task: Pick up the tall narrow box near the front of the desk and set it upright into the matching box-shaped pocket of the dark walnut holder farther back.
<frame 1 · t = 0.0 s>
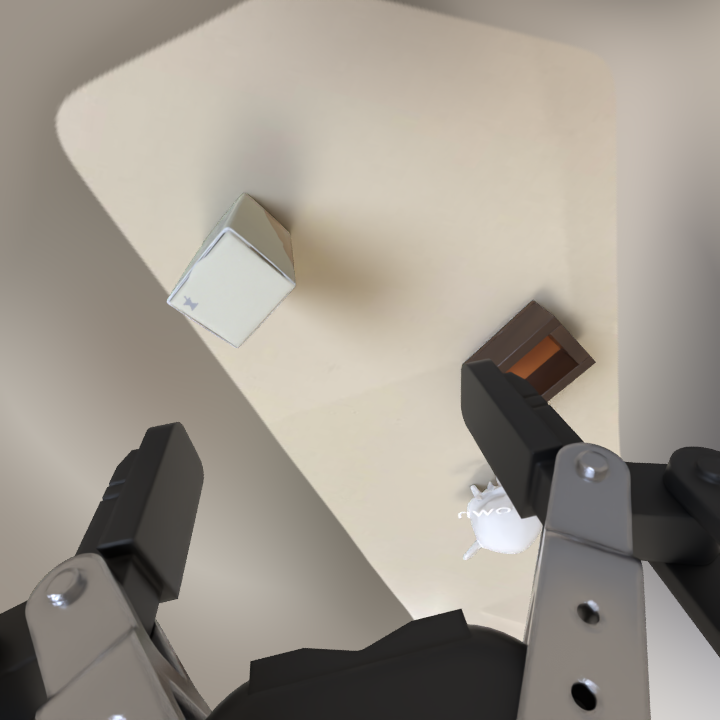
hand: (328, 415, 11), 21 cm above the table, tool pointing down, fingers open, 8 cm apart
holder: (518, 354, 38), on the table
box: (247, 236, 29), on the table
figurine: (486, 485, 49), on the table
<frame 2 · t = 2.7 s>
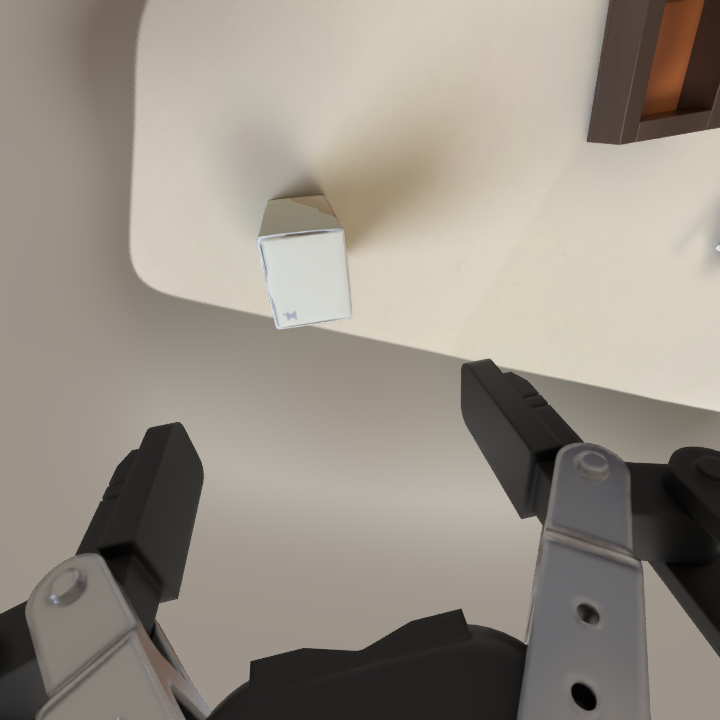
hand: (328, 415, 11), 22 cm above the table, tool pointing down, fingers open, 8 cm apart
holder: (649, 63, 27), on the table
box: (300, 230, 30), on the table
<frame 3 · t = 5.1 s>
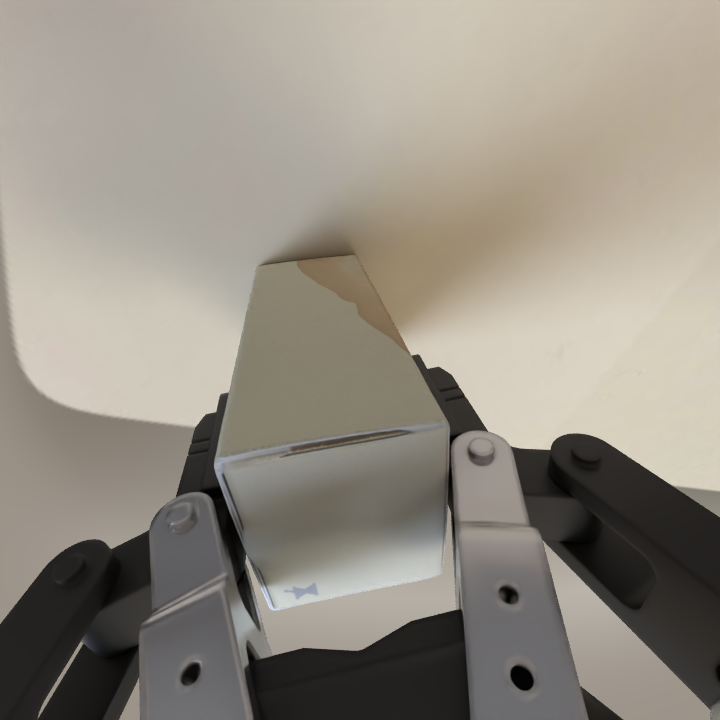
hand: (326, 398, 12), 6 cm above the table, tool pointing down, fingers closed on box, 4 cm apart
box: (313, 309, 17), on the table, touching gripper
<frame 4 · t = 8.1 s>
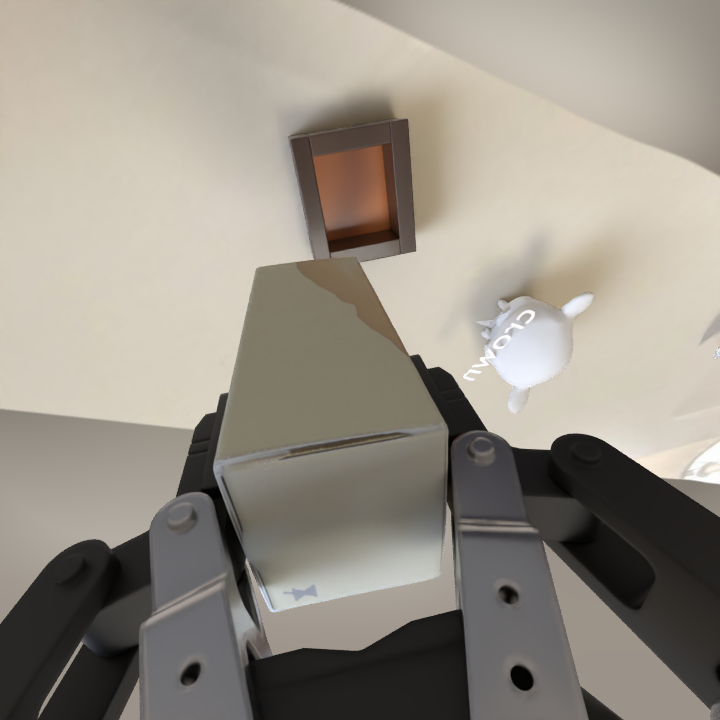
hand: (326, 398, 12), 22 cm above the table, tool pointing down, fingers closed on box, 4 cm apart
holder: (351, 192, 30), on the table
box: (312, 311, 17), point 16 cm above the table, touching gripper
figurine: (502, 319, 39), on the table
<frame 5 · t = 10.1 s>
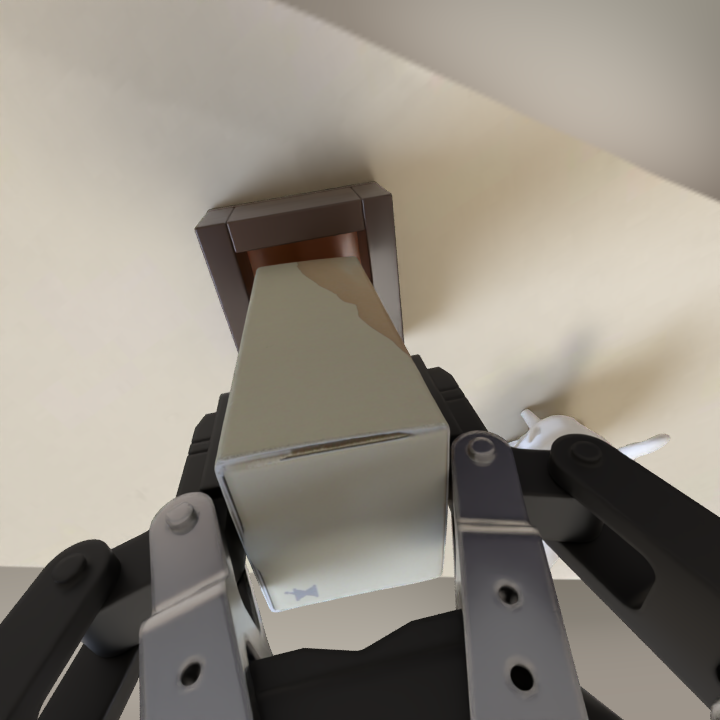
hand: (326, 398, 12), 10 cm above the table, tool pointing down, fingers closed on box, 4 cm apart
holder: (311, 284, 20), on the table
box: (313, 310, 17), point 3 cm above the table, touching gripper
figurine: (525, 430, 29), on the table
when the fingers open (7 cm above the table, at t = 11.4 s): box stays where it is, resting on holder.
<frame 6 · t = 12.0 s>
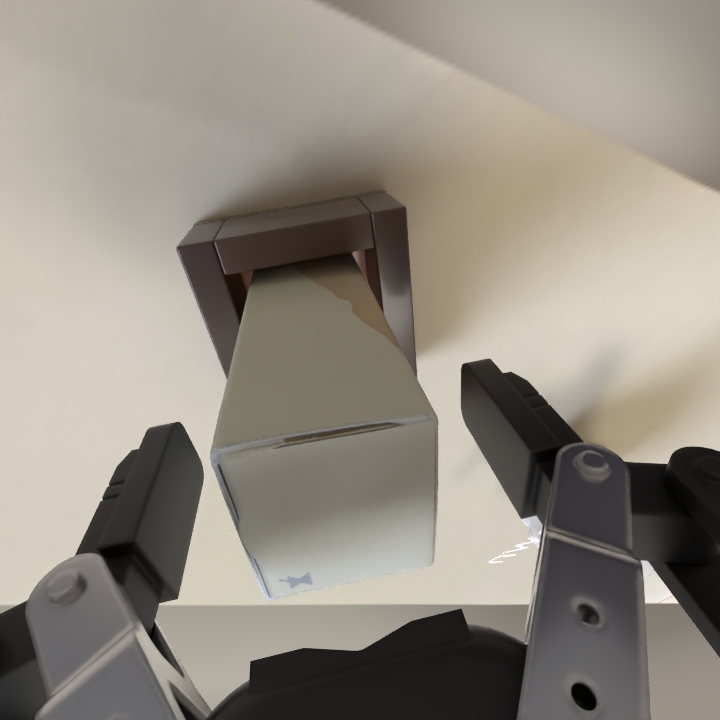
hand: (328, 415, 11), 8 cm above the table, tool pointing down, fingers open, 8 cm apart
holder: (312, 304, 18), on the table
box: (310, 308, 18), resting on holder
figurine: (543, 455, 27), on the table
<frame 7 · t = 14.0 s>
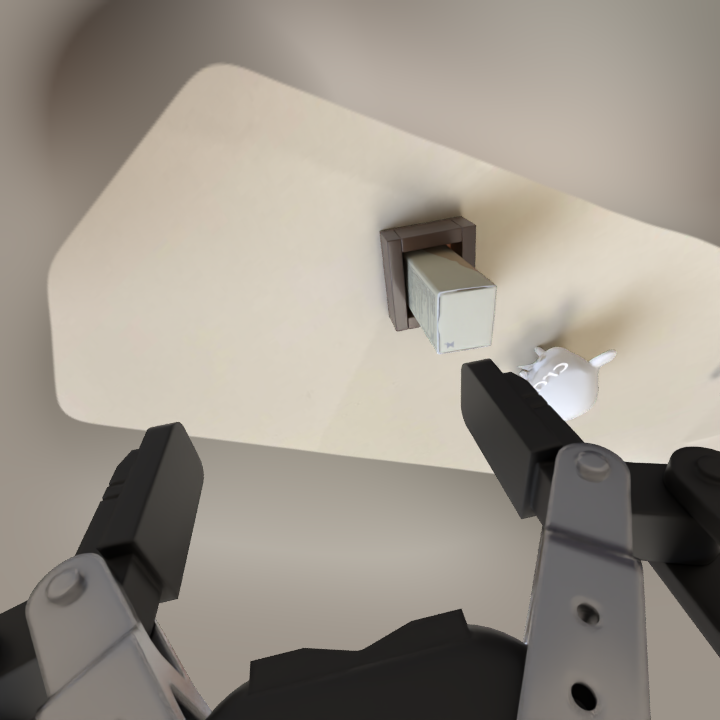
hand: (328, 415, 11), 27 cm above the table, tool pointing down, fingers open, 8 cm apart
holder: (423, 269, 38), on the table
box: (423, 270, 38), resting on holder
figurine: (537, 362, 46), on the table
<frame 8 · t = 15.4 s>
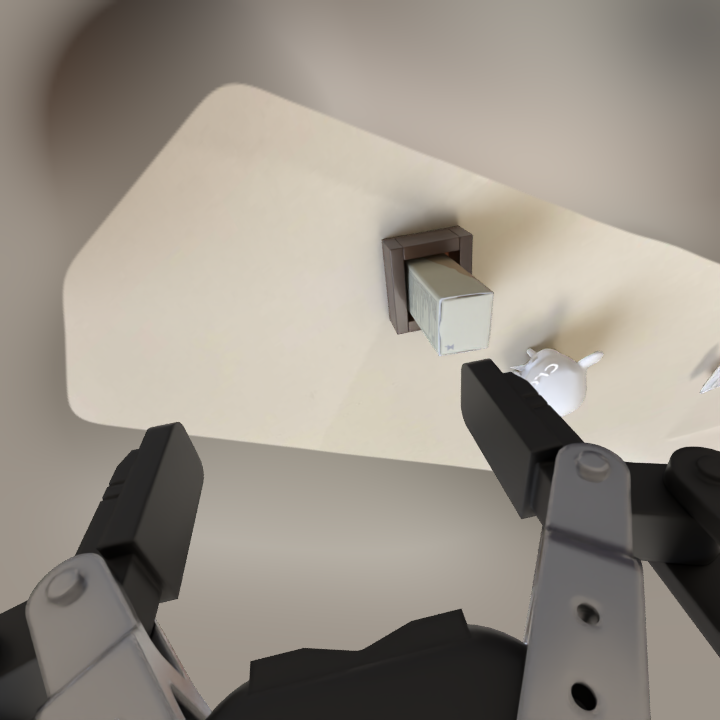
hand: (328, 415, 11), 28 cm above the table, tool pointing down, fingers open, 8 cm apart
holder: (422, 275, 40), on the table
box: (422, 276, 40), resting on holder
figurine: (529, 362, 49), on the table
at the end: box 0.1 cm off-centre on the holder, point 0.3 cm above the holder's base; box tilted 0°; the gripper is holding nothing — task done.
